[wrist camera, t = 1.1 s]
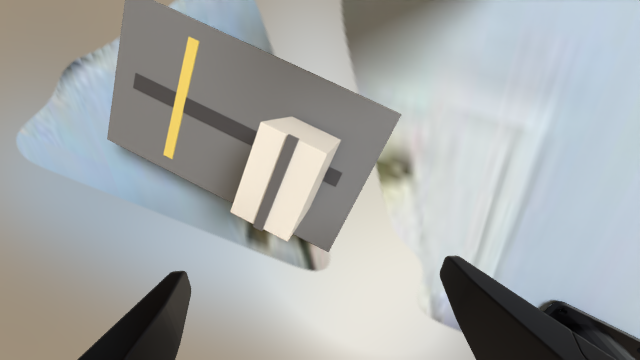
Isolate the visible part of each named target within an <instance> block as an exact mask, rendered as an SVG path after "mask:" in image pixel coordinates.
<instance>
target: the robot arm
mask: <svg viewBox="0 0 640 360" xmlns="http://www.w3.org/2000/svg"><path fill="white" fill-rule="evenodd" d="M440 278H441V281H442V284H443V286H444V289H445V291H446V294H447V297H448V299H449V302H450V304H451V307H452V310H453V312H454V315H455V317H456V320H457V322H458V324H459V326H460V328H461V330H462V332H463V334H464V336H465V338H466V340H467V342H468V344H469V346H470V348H471V350H472V352H473V354H474V356H475V358H476V360H640V339H638V338H636V337H634V336H632V335H630V334H628V333H626V332H624V331H622V330H620V329H618V328H616V327H614V326H611V325H609V324H607V323H605V322H603V321H601V320H599V319H597V318H595V317H593V316H591V315H589V314H587V313H585V312H583V311H581V310H579V309H577V308H575V307H573V306H571V305H569V304H567V303H565V302H562V301H558V302H555V303H553V304H552V305H551V306H550V307H549V308H548V309H547V310H546V311H545V312H542V311H541V310H539V309H538V308H536V307H535V306H533V305H532V304H530V303H529V302H527V301H526V300H524V299H523V298H521V297H520V296H518V295H517V294H515V293H514V292H512V291H511V290H509V289H508V288H506V287H505V286H503V285H502V284H500V283H499V282H497V281H496V280H494V279H493V278H491V277H490V276H488V275H487V274H485V273H484V272H482V271H481V270H479V269H477V268H476V267H474V266H473V265H471V264H470V263H468V262H467V261H465V260H464V259H462V258H461V257H459V256H447V257H446V258H445V260H444V262H443V265H442V267H441V270H440ZM190 296H191V286H190V283H189V280H188V276H187V273H186V272H185V271H175V272H171V273H170V274H169V275H167V276H166V277H165V278H164V279H163V280H162V281H161V282H160V283H159V284H158V285H157V286H156V287H155V288H154V289H152V290H151V291H150V292H149V293H148V294H147V295H146V296H145V297H144V298H143V299H142V300H141V301H140V302H138V303H137V305H135V306H134V307H133V308H132V309H131V310H130V311H129V312H128V313H127V314H126V315H125V316H124V317H123V318H121V319H120V320H119V321H118V322H117V323H116V324H115V325H114V326H113V327H112V328H111V329H110V330H109V331H108V332H106V333H105V334H104V335H103V336H102V337H101V338H100V339H99V340H98V341H97V342H96V343H95V344H94V345H92V347H90V348H89V349H88V350H87V351H86V352H85V353H84V354H83V355H82V356H81V357H80V358H79V359H78V360H175V358H176V355H177V352H178V348H179V345H180V341H181V338H182V333H183V329H184V324H185V319H186V314H187V310H188V305H189V301H190ZM560 309H562V310H560Z"/></svg>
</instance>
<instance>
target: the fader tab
mask: <svg viewBox="0 0 640 360" xmlns="http://www.w3.org/2000/svg"><path fill="white" fill-rule="evenodd" d="M340 141H341V140H340V139H338V138H336V137H334V136H332V135H330V134H328V133H326V132H324V131H321V130H319V129H317V128H315V127H313V126H311V125H309V124H307V123H305V122H302V121H300V120H298V119H296V118H294V117H292V116H291V117H286V118H280V119H274V120H268V121H263V122H261V123H260V126H259V129H258V132H257V135H256V138H255V141H254V143H253V146H252V149H251V152H250V155H249V158H248V161H247V164H246V167H245V170H244V173H243V176H242V179H241V182H240V185H239V188H238V191H237V194H236V197H235V199H234V202H233V205H232V208H231V211H230V212H231V213H233V214H235V215H237V216H239V217H241V218H243V219H245V220H247V221H249V222H250V223H252V224H253V227H254V228H256V229H258V230H260V231H262V230H263V229H264V230H266V231H268V232H270V233H272V234H274V235H276V236H278V237H280V238H282V239H284V240H285V241H287V242H288V240H289V239H290V237H291V236H292V234H293V233H294V231H295V230H296V228H297V227H298V225H299V224H300V222H301V221H302V219H303V217H304V216H305V214H306V213H307V211H308V210H309V208H310V206H311V204H312V202H313V200H314V198H315V195H316V193H317V191H318V189H319V187H320V185H321V182H322V180H323V178H324V176H325V174H326V172H327V169H328V167H329V165H330V163H331V161H332V159H333V157H334V154H335V152H336V150H337V148H338V146H339V144H340Z"/></svg>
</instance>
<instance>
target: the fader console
mask: <svg viewBox="0 0 640 360" xmlns="http://www.w3.org/2000/svg"><path fill="white" fill-rule="evenodd" d="M291 116H292V117H294V118H296V119H298V120H300V121H302V122H305V123H307V124H309V125H311V126H313V127H315V128H317V129H319V130H321V131H324V132H326V133H328V134H330V135H332V136H334V137H336V138H338V139H340V140H341V141H340V144H339V146H338V148H337V150H336V152H335V154H334V157H333V159H332V161H331V163H330V165H329V167H328V169H327V172H326V174H325V176H324V178H323V180H322V182H321V185H320V187H319V189H318V191H317V193H316V195H315V198H314V200H313V202H312V204H311V206H310V208H309V210H308V211H307V213H306V214H305V216H304V217H303V219H302V221H301V222H300V224H299V225H298V227H297V228H296V230H295V231H294V233H293V234H294V235H296V236H298V237H300V238H302V239H304V240H305V241H307V242H309V243H311V244H313V245H315V246H317V247H319V248H321V249H323V250H325V251H327V252H329V250H330V248H331V246H332V245H333V243H334V241H335V239H336V237H337V235H338V233H339V231H340V229H341V227H342V226H343V224H344V222H345V220H346V218H347V216H348V214H349V212H350V210H351V209H352V207H353V205H354V203H355V201H356V199H357V197H358V195H359V193H360V192H361V190H362V187H363V186H364V184H365V182H366V180H367V178H368V176H369V175H370V173H371V171H372V169H373V167H374V165H375V163H376V161H377V160H378V158H379V156H380V154H381V152H382V150H383V148H384V146H385V144H386V143H387V141H388V139H389V137H390V135H391V133H392V131H393V129H394V127H395V126H396V124H397V122H398V120H399V118H400V116H401V114H399V113H398V112H396V111H393V110H391V109H389V108H387V107H385V106H383V105H380V104H378V103H376V102H374V101H372V100H370V99H367V98H365V97H363V96H361V95H359V94H356V93H354V92H352V91H350V90H348V89H346V88H343V87H341V86H339V85H337V84H335V83H333V82H330V81H328V80H326V79H324V78H321V77H319V76H317V75H315V74H313V73H311V72H309V71H306V70H304V69H302V68H300V67H298V66H296V65H293V64H291V63H289V62H287V61H284V60H283V59H280V58H278V57H276V56H274V55H272V54H269V53H267V52H265V51H263V50H261V49H259V48H256V47H254V46H252V45H250V44H248V43H246V42H243V41H241V40H239V39H237V38H235V37H232V36H230V35H228V34H226V33H224V32H222V31H219V30H217V29H215V28H213V27H211V26H209V25H206V24H204V23H202V22H200V21H198V20H195V19H193V18H191V17H189V16H187V15H185V14H182V13H180V12H178V11H176V10H174V9H172V8H169V7H167V6H165V5H163V4H160V3H158V2H156V1H154V0H125V5H124V13H123V21H122V29H121V36H120V44H119V52H118V60H117V67H116V75H115V83H114V91H113V98H112V106H111V114H110V122H109V129H108V137H107V139H108V140H110V141H112V142H114V143H116V144H118V145H120V146H121V147H123V148H125V149H127V150H129V151H131V152H133V153H135V154H137V155H139V156H141V157H143V158H145V159H147V160H149V161H151V162H153V163H155V164H157V165H159V166H161V167H163V168H165V169H167V170H168V171H170V172H172V173H174V174H176V175H178V176H180V177H182V178H184V179H186V180H188V181H190V182H192V183H194V184H196V185H198V186H200V187H202V188H204V189H206V190H208V191H210V192H212V193H213V194H215V195H217V196H219V197H221V198H223V199H225V200H227V201H229V202H231V203H233V202H234V199H235V197H236V194H237V191H238V188H239V185H240V182H241V179H242V176H243V173H244V170H245V167H246V164H247V161H248V158H249V155H250V152H251V149H252V146H253V143H254V141H255V138H256V135H257V132H258V129H259V126H260V123H261V122H263V121H268V120H274V119H280V118H286V117H291Z"/></svg>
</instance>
